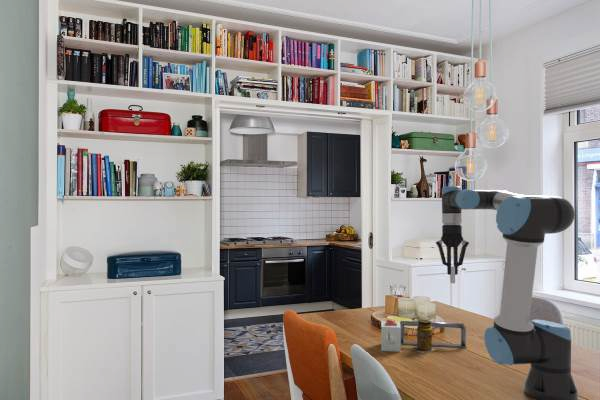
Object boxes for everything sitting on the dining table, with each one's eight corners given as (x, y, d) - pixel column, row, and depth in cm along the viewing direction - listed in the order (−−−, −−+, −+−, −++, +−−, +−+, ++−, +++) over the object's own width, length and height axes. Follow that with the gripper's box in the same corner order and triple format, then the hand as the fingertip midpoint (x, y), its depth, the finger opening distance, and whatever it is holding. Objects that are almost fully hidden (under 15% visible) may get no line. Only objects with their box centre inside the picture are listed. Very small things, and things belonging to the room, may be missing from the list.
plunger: (395, 342, 201) (395, 321, 202) (386, 342, 202) (386, 321, 202) (394, 340, 205) (394, 319, 205) (386, 340, 206) (386, 319, 206)
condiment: (436, 350, 200) (436, 321, 201) (422, 353, 196) (422, 324, 196) (422, 345, 207) (422, 318, 207) (409, 349, 202) (409, 320, 202)
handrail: (465, 345, 206) (465, 322, 207) (466, 347, 204) (466, 324, 204) (399, 342, 211) (399, 319, 211) (399, 344, 208) (399, 321, 208)
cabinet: (400, 352, 197) (400, 328, 197) (381, 351, 199) (381, 327, 199) (399, 344, 208) (399, 321, 208) (381, 343, 209) (381, 321, 209)
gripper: (466, 224, 196) (467, 281, 195) (433, 224, 197) (434, 281, 196) (470, 224, 188) (471, 284, 187) (436, 224, 190) (437, 283, 189)
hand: (452, 282), depth 192 cm, fingers closed
